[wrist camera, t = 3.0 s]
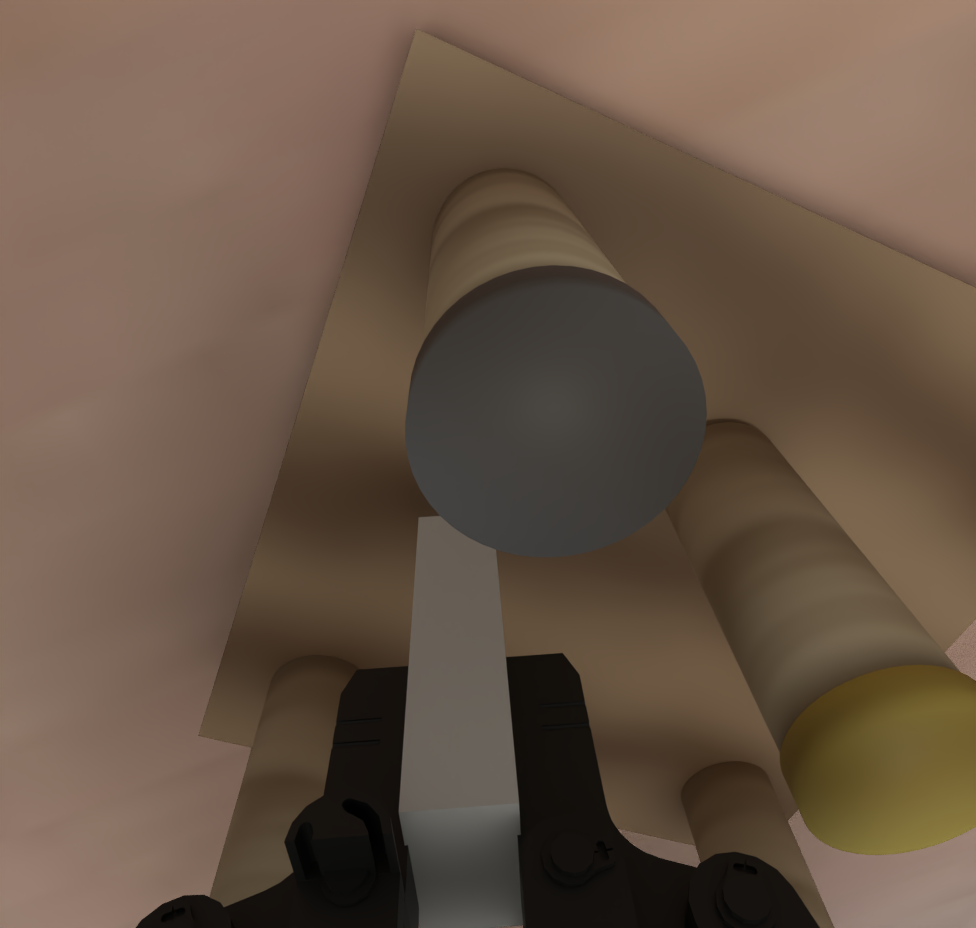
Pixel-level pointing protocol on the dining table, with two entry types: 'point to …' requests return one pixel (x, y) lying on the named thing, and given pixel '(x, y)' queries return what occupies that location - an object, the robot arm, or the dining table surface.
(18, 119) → the dining table surface
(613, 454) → the stool seat
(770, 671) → the swing leg
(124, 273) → the dining table surface
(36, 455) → the dining table surface
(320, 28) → the dining table surface
